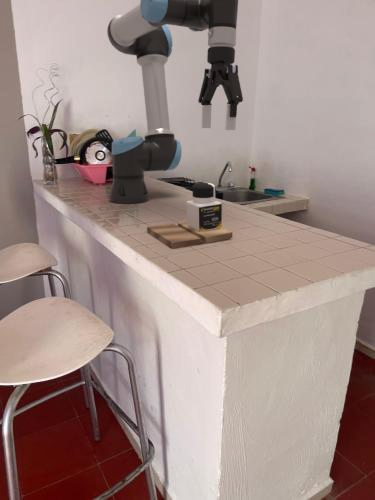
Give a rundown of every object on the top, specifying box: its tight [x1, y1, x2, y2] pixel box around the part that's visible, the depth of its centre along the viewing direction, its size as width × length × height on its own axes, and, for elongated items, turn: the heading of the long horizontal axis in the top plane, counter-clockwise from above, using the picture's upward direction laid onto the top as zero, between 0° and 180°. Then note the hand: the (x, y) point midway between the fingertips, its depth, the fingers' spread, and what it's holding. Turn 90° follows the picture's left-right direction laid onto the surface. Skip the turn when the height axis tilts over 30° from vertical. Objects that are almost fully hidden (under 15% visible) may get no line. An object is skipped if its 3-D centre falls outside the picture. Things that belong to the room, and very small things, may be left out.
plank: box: [177, 220, 233, 244], centre depth 103 cm, size 16×8×2 cm, turn 28°
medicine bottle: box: [186, 182, 223, 232], centre depth 100 cm, size 7×7×12 cm
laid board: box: [146, 223, 206, 250], centre depth 99 cm, size 16×9×2 cm, turn 28°
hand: (217, 129), depth 109 cm, fingers open, 13 cm apart
